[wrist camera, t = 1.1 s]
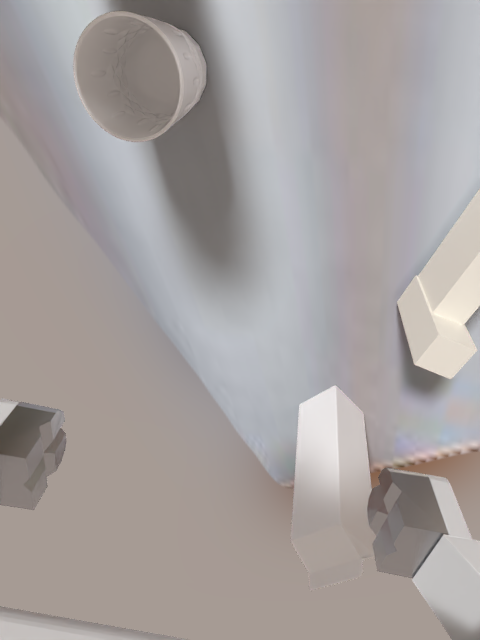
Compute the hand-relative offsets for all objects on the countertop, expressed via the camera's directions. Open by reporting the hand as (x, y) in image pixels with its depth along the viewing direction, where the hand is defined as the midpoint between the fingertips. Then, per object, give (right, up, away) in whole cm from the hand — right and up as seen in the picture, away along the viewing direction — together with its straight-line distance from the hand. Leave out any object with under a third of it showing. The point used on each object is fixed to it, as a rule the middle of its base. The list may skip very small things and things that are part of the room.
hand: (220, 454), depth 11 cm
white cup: (-6, +25, +27) cm, 38 cm away
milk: (+13, -8, +46) cm, 48 cm away
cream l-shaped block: (+21, +11, +30) cm, 38 cm away
